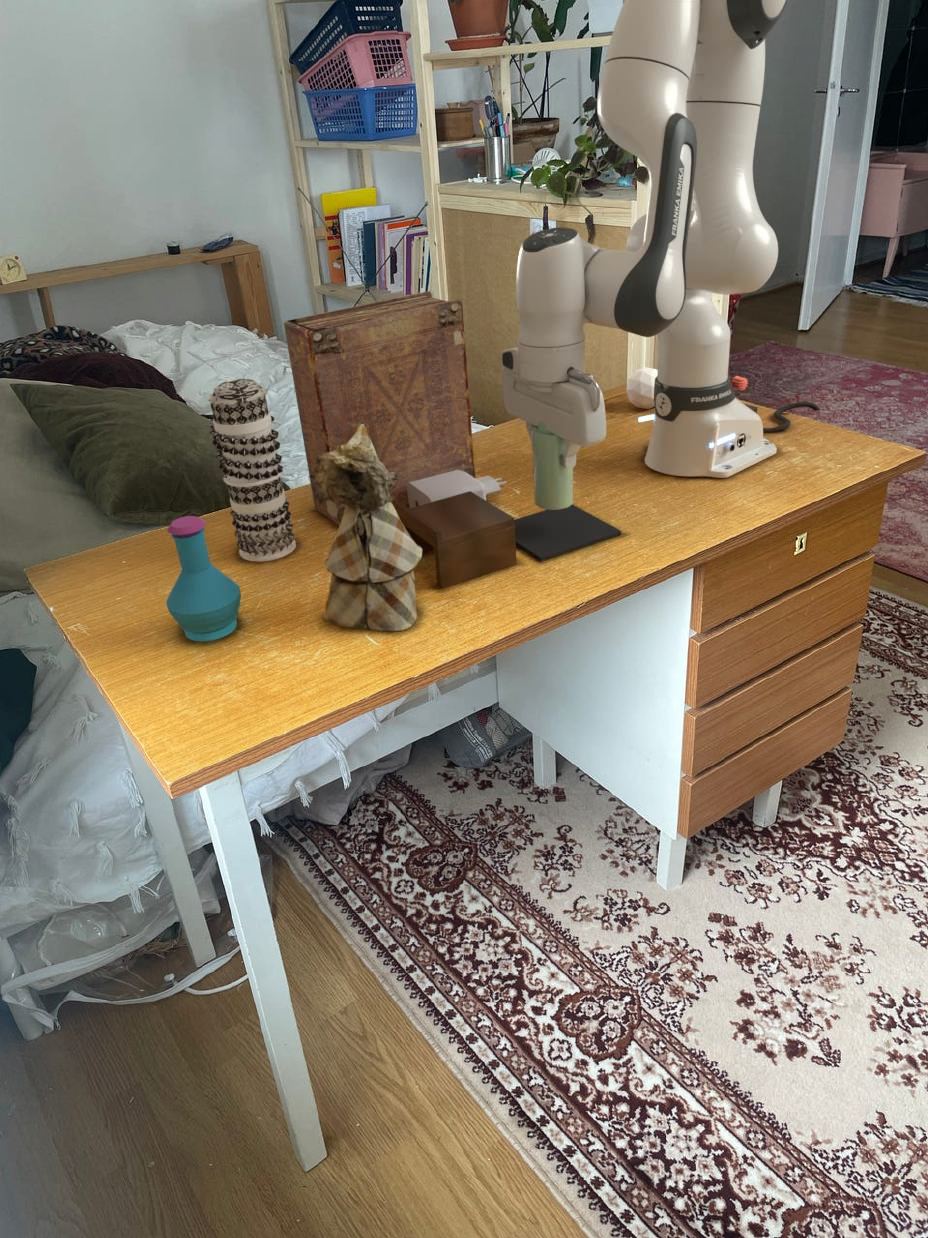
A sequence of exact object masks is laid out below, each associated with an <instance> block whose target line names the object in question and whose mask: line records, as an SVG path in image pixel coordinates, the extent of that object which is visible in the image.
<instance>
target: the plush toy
mask: <svg viewBox="0 0 928 1238" xmlns="http://www.w3.org/2000/svg"><path fill="white" fill-rule="evenodd" d="M316 464H317V465H318V467H315V469H314V472H313V475H310V476H309V475H308V477H309V478H310V477H311V478H314V484H312V488H311V492H312V491H313V494H312V497H313V496H314V498H317V499H318V502H319V504H323V503H324V502H326V501H328V500H331V501H332V502H334V504H335V505H336V506H339V505H341V504H344V505H346V509H345V512H344V515H343V518H342V521H341V523H340V526H339V525H338V526H339V527H338V528H337V530H336V534H335V536H334V539H333V541H332V545H331V547H330V548H331V549H330V551H329V555H328V557H326V560H325V562H324V565H325V567H326V568H325V569H326V570H327V572H329V573H331V576H330V583H329V589H328V594H327V599H326V602H325V611H324V612H323V614H322V621H325V622H329V623H331V624H333V625H335V626H341V627H345V628H351V629H352V628H353V629H364V630H365V629H367V630H369V631H373V630H374V631H382V632H400V631H401V632H402V631H404V630H407V629H410V628H411V627H412V626H414V625H415V623H416V620H417V618H418V615H419V614H418V611H417V598H416V596H417V595H416V594H417V593H416V592H417V591H416V587H415V584H416V581H415V579H416V578H415V570H414V569H415V567H416V566H417V565H418V564H419V562H420V561H421V560H422V558H423V554H422V551H423V549H422V548H421V547H420V546H419V545H417V544H416V543H415V542H414V540H413V539H412V537H411V536H410V534H409V533H408V532H407V530H406V528H405V526H404V525H403V524H402V522H401V520H400V518H399V516H398V514H397V512H396V510H395V508H394V506H393V504H392V503H391V502H392V499H393V495H392V494H390V492H391V491H392V489H394V488H396V487H397V486H396V485H395V483H394V480H398V479H397V477H398V476H399V474H398V473H393V472H388V470H387V469H386V468H385V466H384V464H383V463H381V462H380V461H379V458H378V457H377V454H376V451H375V448H374V446H373V444H372V442H371V439H370V437H369V434H368V432H367V429H366V427H365V425H364V424H362V425H358V429H357V431H356V433H355V434H354V436H353V437H352V438H351V439H350V440H349V442H348V443H347V444H346V445H341V444H337V449H336V450H335V451H333V452H329V453H324V455H323V456H317V458H316ZM317 481H318V482H317ZM338 503H340V504H338Z"/></svg>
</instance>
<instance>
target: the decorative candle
mask: <svg viewBox="0 0 928 1238" xmlns="http://www.w3.org/2000/svg"><path fill="white" fill-rule="evenodd" d="M267 394H268V389H267V388H265V387H263V386H261V385H260V384H259V383H258V382H257V381H255V380H254V379H251V378H236V379H229V380H226V381H222V382H220V383H219V384H217V385H215V388H214V390H213V393H211V394H210V395H209V396H208V398H207V401H208V402H209V403H210V408H211V412H212V417H213V419H212V425H210V427H209V428H210V430H209V434H210V435H211V436H212V445H213V446H214V447H215V449H217V450H216V455H215V457H216V459H218V460H219V464H218V468H219V469H220V470H221V473H222V475H223V477H222V480H223V482H224V483H225V484H226V485H227V487H228V492H229V493H228V494H229V504H230V506H231V508H230V512H229V514H230V516H232V525H233V526H234V528H235V530H234V533H233V534H234V537H235V538H236V540H237V541H236V546H237V548H239V552H238V553H239V556H240V557H241V558H242V559H243V560H246V561H248V562H249V561H250V562H261V563H263V562H269V561H275V560H279V559H282V558H284V557H286V556H288V555H289V554H291V553H292V552H293V551H294V550H295V549H296V546H297V544H296V543H297V542H296V540H295V535H296V533H295V532H293V530H294V528H293V526H294V523H293V522H292V520H291V513H292V512H291V511H290V510H289V509H290V507H289V506H290V502H289V501H288V500H287V498H286V497H287V496H286V493H285V489H284V488H283V486H282V485H283V483H282V482H283V481H282V478H281V476H282V475H283V471H284V470H283V469H284V466H283V465H280V463H281V462H282V459H283V457H282V455H280V454H278V453H277V450H279V449H280V447H281V443H280V441H278V440H276V439H278V438H279V433H280V432H279V431H277V430H275V429H274V428H271V425H272V423H273V422H274V421H275V417H274V416H272V415H271V411H270V410H269V408H268V401H267V398H266V395H267Z"/></svg>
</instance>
